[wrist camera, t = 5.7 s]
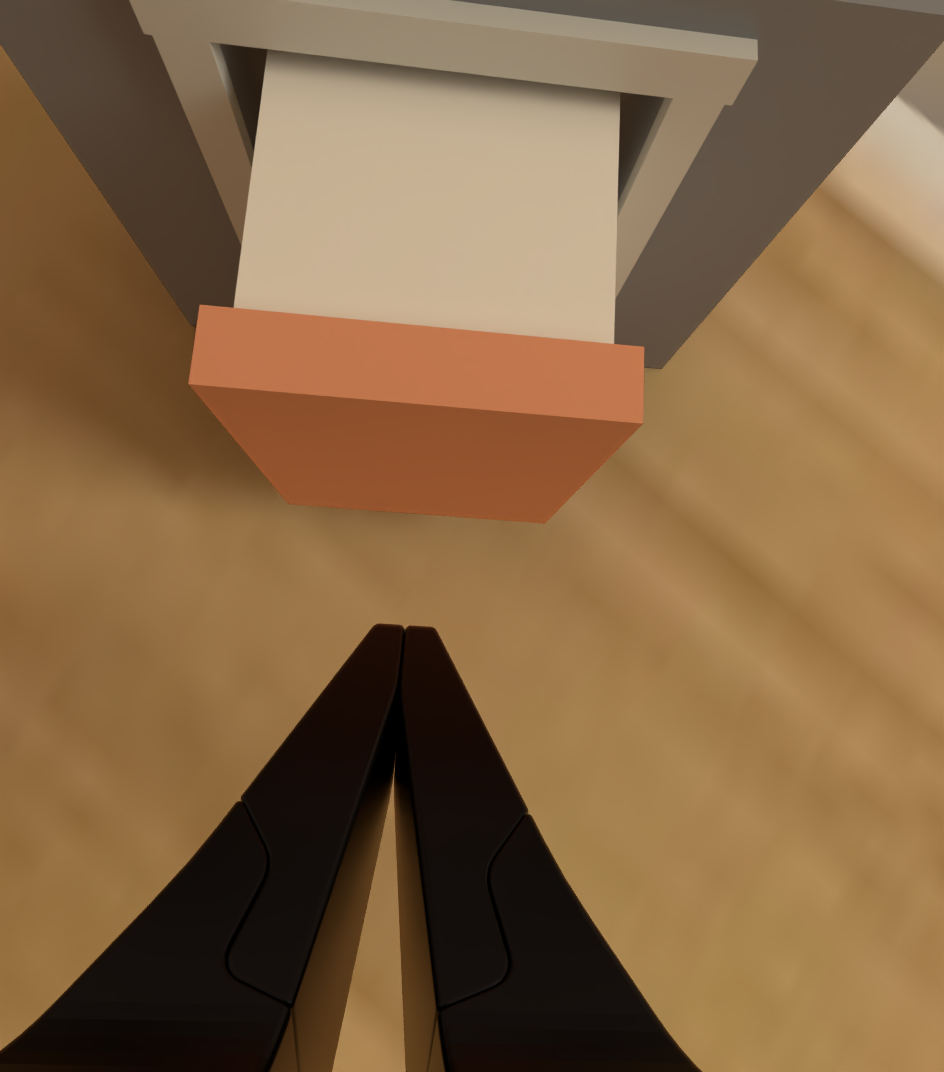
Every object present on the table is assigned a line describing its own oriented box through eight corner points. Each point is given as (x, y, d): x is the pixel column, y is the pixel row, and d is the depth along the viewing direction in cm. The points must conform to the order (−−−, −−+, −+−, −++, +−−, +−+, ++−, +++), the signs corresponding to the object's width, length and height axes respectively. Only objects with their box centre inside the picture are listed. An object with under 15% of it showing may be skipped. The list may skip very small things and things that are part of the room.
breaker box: (661, 379, 18) (964, 39, 8) (188, 336, 17) (-122, -103, 7) (663, 230, 19) (942, -249, 9) (211, 181, 18) (-43, -409, 8)
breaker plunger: (545, 523, 15) (642, 423, 8) (288, 504, 14) (188, 383, 8) (561, 114, 16) (653, -224, 10) (334, 87, 16) (282, -281, 10)
